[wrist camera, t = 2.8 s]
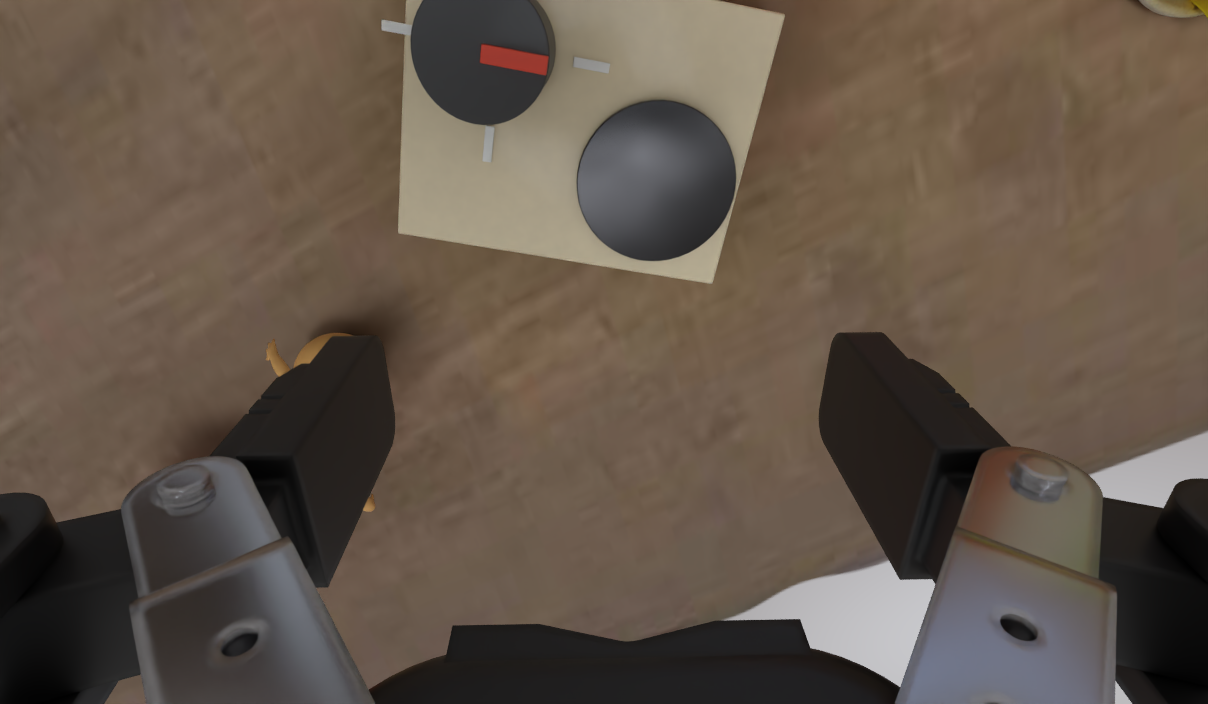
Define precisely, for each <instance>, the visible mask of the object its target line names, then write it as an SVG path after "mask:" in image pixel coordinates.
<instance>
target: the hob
mask: <svg viewBox="0 0 1208 704" xmlns="http://www.w3.org/2000/svg"><path fill="white" fill-rule="evenodd" d="M422 1H423V0H406V11H405V24H404V23H399V22H393V21H388V20H383V19H382V25H381V30H384V31H389V32H394V33H399V34H404V35H405V40H404V70H403V99H402V128H401V157H400V186H399V215H398V233H400V234H406V235H412V236H418V237H424V238H431V239H437V240H443V241H449V242H455V243H462V244H468V245H474V246H480V247H486V248H492V249H499V250H505V251H511V252H517V253H523V254H530V255H536V256H542V257H548V258H554V259H561V260H567V261H573V262H579V263H585V264H591V265H598V266H604V267H610V268H616V269H622V270H629V271H635V272H641V273H647V274H653V275H659V276H666V277H672V278H678V279H684V280H690V281H697V282H703V283H709V284H712V283H713V279H714V276H715V272H716V268H717V265H718V261H719V257H720V254H721V250H722V246H723V243H724V239H725V235H726V232H727V228H728V224H729V220H730V217H731V213H732V209H733V206H734V202H735V198H736V195H737V191H738V187H739V184H740V180H741V176H742V173H743V169H744V165H745V162H746V158H747V154H748V150H749V147H750V143H751V139H752V136H753V132H754V128H755V125H756V121H757V117H758V114H759V110H760V106H761V103H762V99H763V95H764V91H765V88H766V84H767V80H768V77H769V73H770V69H771V66H772V62H773V58H774V55H775V51H776V47H777V44H778V40H779V36H780V32H781V29H782V25H783V21H784V18H785V15H784V14H783V13H778V12H773V11H768V10H763V9H759V8H754V7H749V6H744V5H739V4H734V3H730V2H725V1H720V0H537V1H538V2H539V4H540V5H541V6H542V8H543V9H544V10H545V12H546V14H547V16H548V18H549V20H550V22H551V25H552V28H553V31H554V36H555V43H556V55H555V62H554V67H553V70H552V73H551V75H550V77H549V80H548V81H547V83H546V85H545V86H544V88H543V89H542V91H541V93H540V94H539V96H538V97H537V99H536V100H535V101H534V103H533V104H532V105H531V106H530V107H529V108H528V109H527V110H526V111H525V112H524V113H522V114H521V115H519V116H517V117H516V118H514V119H512V120H510V121H507V122H504V123H500V124H494V125H478V124H472V123H468V122H465V121H462V120H460V119H457V118H455V117H454V116H452V115H450V114H448V113H447V112H446V111H444V110H443V109H442V108H440V107H439V106H438V105H437V104H436V103H435V102H434V101H433V100H432V99H431V97H430V96H429V95H428V94H427V92H426V91H425V89H424V88H423V86H422V84H421V82H420V80H419V79H418V76H417V74H416V71H415V68H414V64H413V61H412V55H411V41H410V39H411V29H412V25H413V20H414V17H415V15H416V12H417V10H418V8H419V6H420V4H421V2H422ZM655 99H664V100H673V101H677V102H681V103H684V104H687V105H689V106H691V107H694V108H695V109H697V110H699V111H700V112H702V113H703V114H705V115H706V116H707V117H708V118H709V119H711V120H712V121H713V122H714V123H715V124H716V125H717V127H718V128H719V129H720V130H721V132H722V133H723V135H724V136H725V137H726V139H727V141H728V143H729V145H730V148H731V151H732V154H733V157H734V162H735V167H736V188H735V193H734V198H733V201H732V204H731V207H730V210H729V212H728V214H727V216H726V218H725V220H724V221H723V223H722V224H721V226H720V227H719V228H718V230H717V231H716V232H715V233H714V235H713V236H711V237H710V238H709V239H708V240H707V241H706V242H705V243H704V244H702V245H701V246H700V247H698V248H697V249H695V250H693V251H691V252H690V253H687V254H685V255H683V256H680V257H677V258H673V259H670V260H663V261H642V260H637V259H633V258H629V257H626V256H624V255H621V254H619V253H617V252H616V251H614V250H612V249H611V248H609V247H608V246H606V245H605V244H604V243H603V242H602V241H601V240H600V239H598V238H597V236H596V235H595V234H594V233H593V232H592V230H591V229H590V227H589V226H588V224H587V223H586V221H585V219H584V216H583V214H582V212H581V209H580V205H579V201H578V196H577V171H578V166H579V161H580V158H581V155H582V152H583V150H584V148H585V146H586V144H587V142H588V140H589V138H590V137H591V136H592V134H593V133H594V131H595V130H596V129H597V128H598V127H599V126H600V125H601V123H602V122H603V121H605V120H606V119H607V118H608V117H609V116H611V115H612V114H614V113H615V112H617V111H618V110H620V109H622V108H624V107H626V106H628V105H631V104H634V103H637V102H640V101H646V100H655Z"/></svg>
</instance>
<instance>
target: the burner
mask: <svg viewBox="0 0 1208 704" xmlns="http://www.w3.org/2000/svg"><path fill="white" fill-rule="evenodd" d="M735 188H736V167H735V162H734V157H733V154H732V151H731V148H730V145H729V143H728V141H727V139H726V137H725V136H724V135H723V133H722V132H721V130H720V129H719V128H718V127H717V125H716V124H715V123H714V122H713V121H712V120H711V119H709V118H708V117H707V116H706V115H705V114H703V113H702V112H700V111H699V110H697V109H695V108H694V107H691V106H689V105H687V104H684V103H681V102H677V101H673V100H664V99H655V100H646V101H640V102H637V103H634V104H631V105H628V106H626V107H624V108H622V109H620V110H618V111H617V112H615V113H614V114H612V115H611V116H609V117H608V118H607V119H606V120H605V121H603V122H602V123H601V125H600V126H599V127H598V128H597V129H596V130H595V131H594V133H593V134H592V136H591V137H590V138H589V140H588V142H587V144H586V146H585V148H584V150H583V152H582V155H581V158H580V161H579V166H578V171H577V196H578V201H579V205H580V209H581V212H582V214H583V216H584V219H585V221H586V223H587V224H588V226H589V227H590V229H591V230H592V232H593V233H594V234H595V235H596V236H597V238H598V239H600V240H601V241H602V242H603V243H604V244H605V245H606V246H608V247H609V248H611V249H612V250H614V251H616V252H617V253H619V254H621V255H624V256H626V257H629V258H633V259H637V260H642V261H663V260H670V259H673V258H677V257H680V256H683V255H685V254H687V253H690V252H691V251H693V250H695V249H697V248H698V247H700V246H701V245H702V244H704V243H705V242H706V241H707V240H708V239H709V238H710V237H711V236H713V235H714V233H715V232H716V231H717V230H718V228H719V227H720V226H721V224H722V223H723V221H724V220H725V218H726V216H727V214H728V212H729V210H730V207H731V204H732V201H733V198H734V193H735Z"/></svg>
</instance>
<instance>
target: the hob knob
mask: <svg viewBox="0 0 1208 704" xmlns="http://www.w3.org/2000/svg"><path fill="white" fill-rule="evenodd" d="M410 41H411V55H412V61H413V64H414V68H415V71H416V74H417V76H418V79H419V80H420V82H421V84H422V86H423V88H424V89H425V91H426V92H427V94H428V95H429V96H430V97H431V99H432V100H433V101H434V102H435V103H436V104H437V105H438V106H439V107H440V108H442V109H443V110H444V111H446V112H447V113H448V114H450V115H452V116H454V117H455V118H457V119H460V120H462V121H465V122H468V123H472V124H478V125H494V124H500V123H504V122H507V121H510V120H512V119H514V118H516V117H517V116H519V115H521V114H522V113H524V112H525V111H526V110H527V109H528V108H529V107H530V106H531V105H532V104H533V103H534V101H535V100H536V99H537V97H538V96H539V94H540V93H541V91H542V89H543V88H544V86H545V85H546V83H547V81H548V80H549V77H550V75H551V73H552V70H553V67H554V62H555V55H556V43H555V36H554V31H553V28H552V25H551V22H550V20H549V18H548V16H547V14H546V12H545V10H544V9H543V8H542V6H541V5H540V4H539V2H538V1H537V0H423V1H422V2H421V4H420V6H419V8H418V10H417V12H416V15H415V17H414V20H413V25H412V29H411V39H410Z"/></svg>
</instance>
